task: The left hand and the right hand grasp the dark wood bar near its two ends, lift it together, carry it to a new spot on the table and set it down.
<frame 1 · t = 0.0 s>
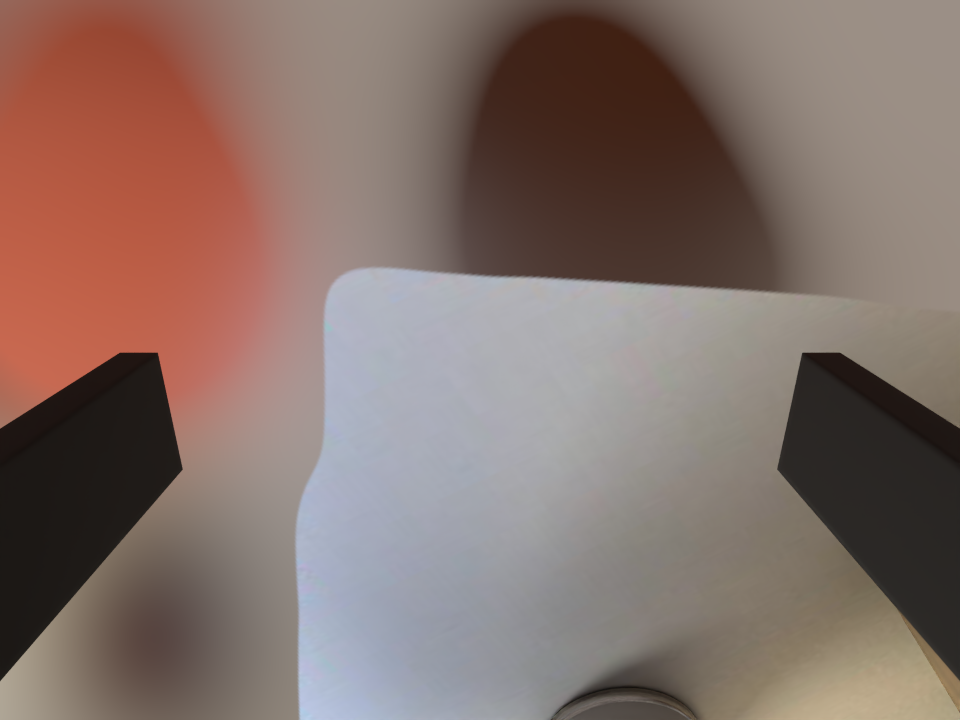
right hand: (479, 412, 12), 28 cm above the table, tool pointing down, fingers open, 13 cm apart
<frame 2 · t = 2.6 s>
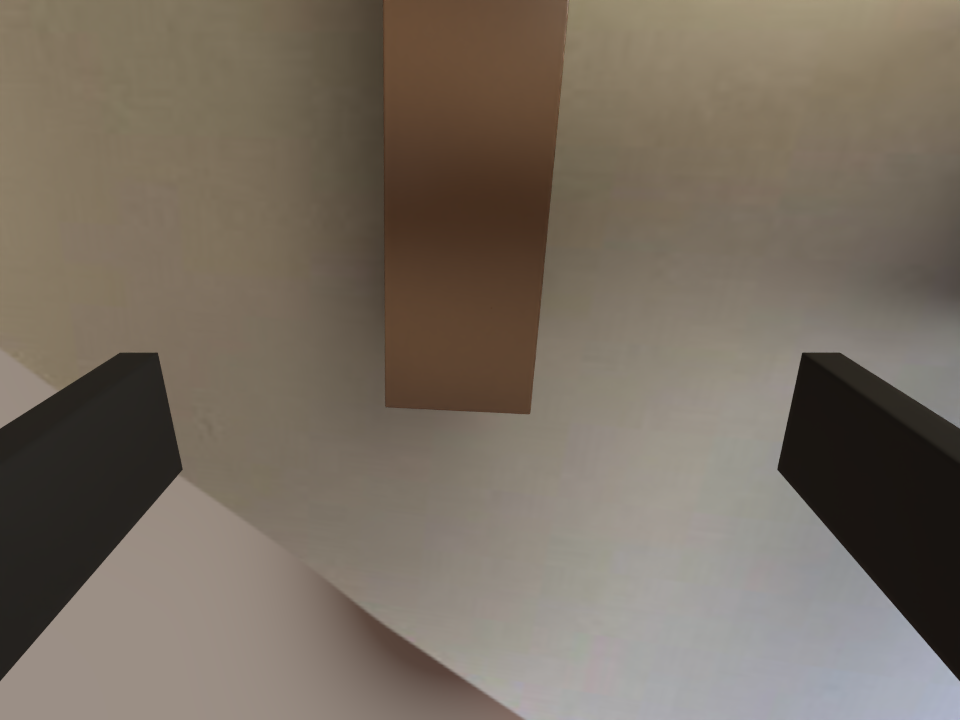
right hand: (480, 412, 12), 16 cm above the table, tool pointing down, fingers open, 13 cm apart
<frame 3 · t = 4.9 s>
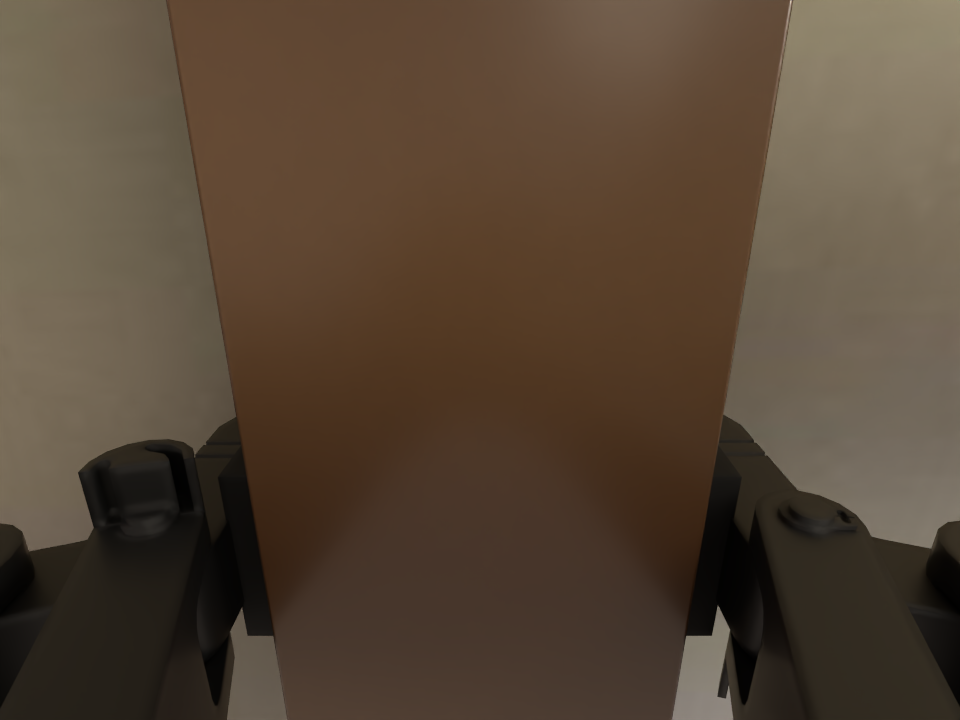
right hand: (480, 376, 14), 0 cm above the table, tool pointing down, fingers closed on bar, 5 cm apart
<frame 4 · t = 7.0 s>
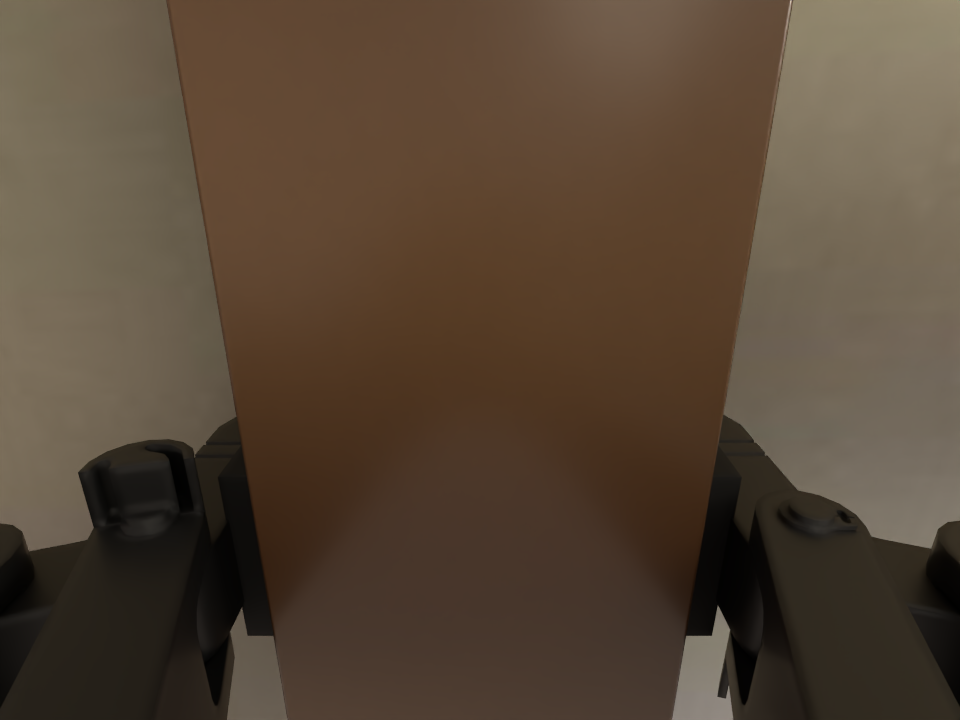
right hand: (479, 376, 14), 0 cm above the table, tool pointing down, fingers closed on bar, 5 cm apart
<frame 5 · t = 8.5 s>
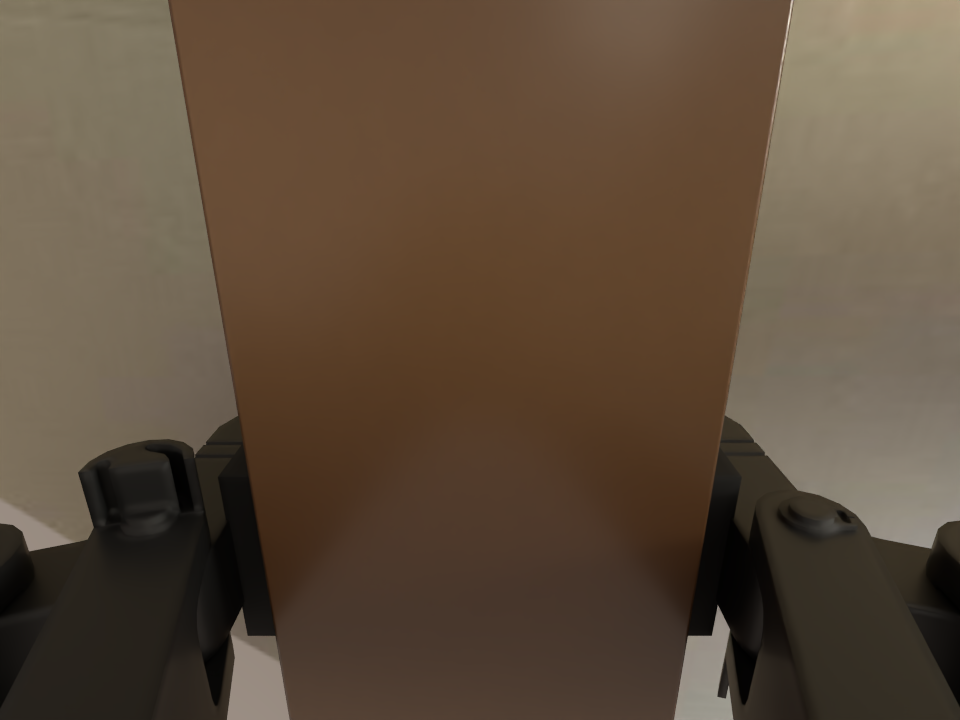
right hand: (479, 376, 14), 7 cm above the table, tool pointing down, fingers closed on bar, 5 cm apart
when the left hand's fingers open (2 cm above the table, at t = 10.5 s): bar drops 1 cm, on the table.
when the right hand's fingers open (2 cm above the table, at t = 10.5 s): bar drops 1 cm, on the table.
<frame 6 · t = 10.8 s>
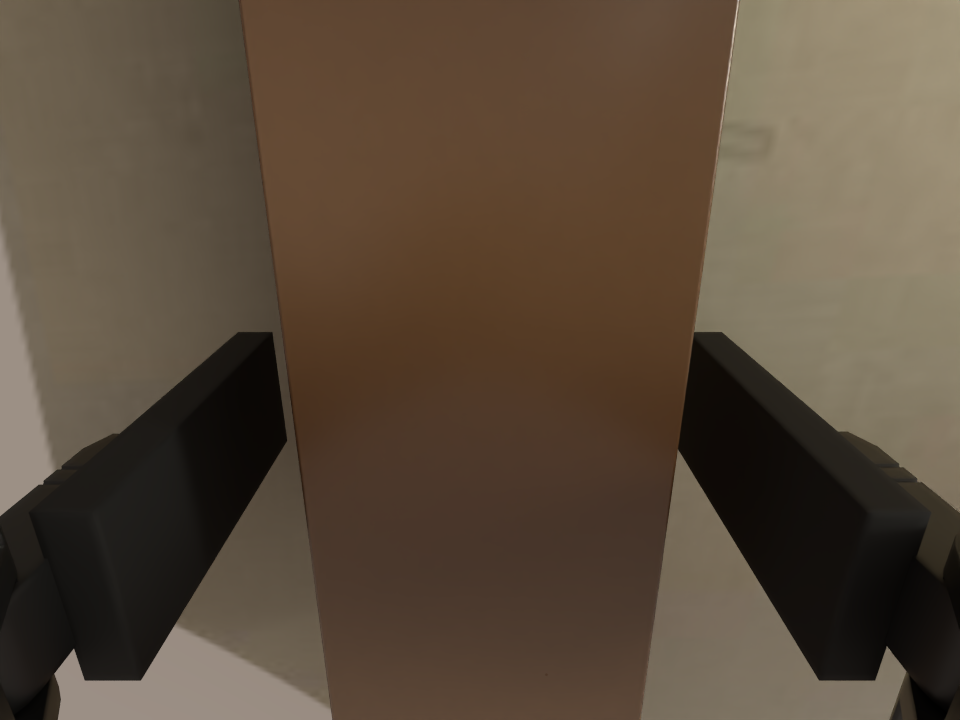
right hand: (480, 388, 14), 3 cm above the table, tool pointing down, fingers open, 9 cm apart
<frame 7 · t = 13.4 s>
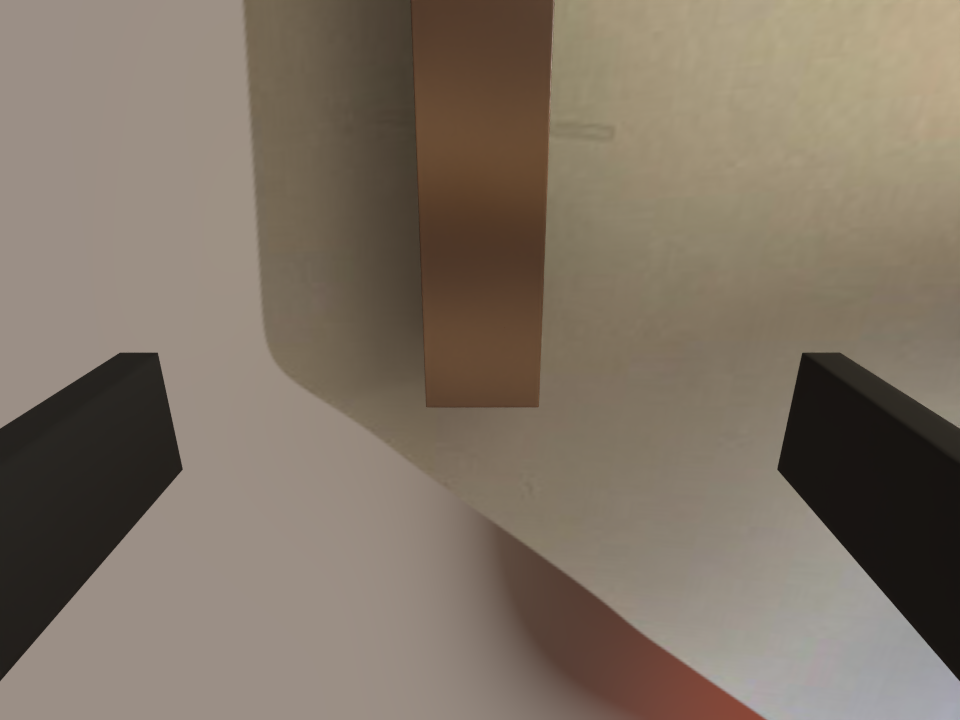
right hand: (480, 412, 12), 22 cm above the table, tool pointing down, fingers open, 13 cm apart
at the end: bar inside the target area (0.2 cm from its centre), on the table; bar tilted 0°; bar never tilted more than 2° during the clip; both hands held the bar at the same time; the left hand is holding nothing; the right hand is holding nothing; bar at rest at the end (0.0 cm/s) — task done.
